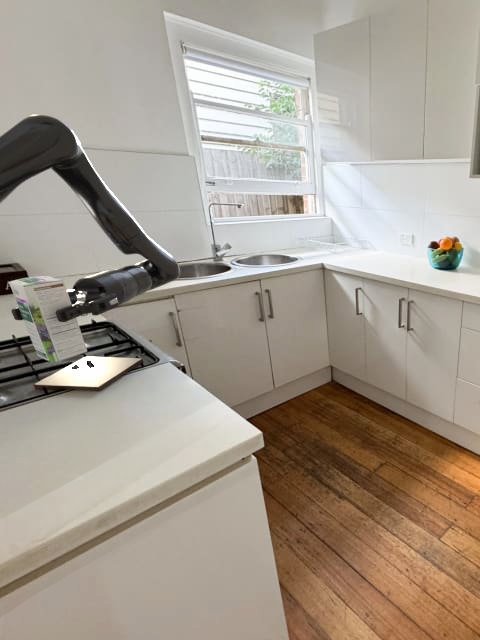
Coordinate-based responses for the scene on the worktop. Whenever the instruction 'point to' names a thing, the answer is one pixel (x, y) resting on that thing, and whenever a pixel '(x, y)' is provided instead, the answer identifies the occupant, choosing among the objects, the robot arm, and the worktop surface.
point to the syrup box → (48, 317)
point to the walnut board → (89, 374)
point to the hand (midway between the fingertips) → (37, 316)
